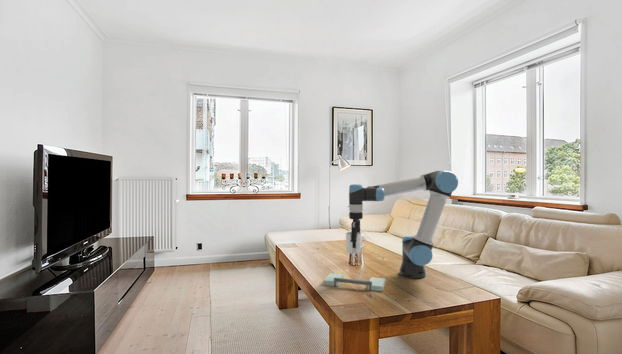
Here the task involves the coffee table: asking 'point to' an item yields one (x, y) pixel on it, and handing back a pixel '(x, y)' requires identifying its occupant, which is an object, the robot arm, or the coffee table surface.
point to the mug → (349, 244)
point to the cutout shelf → (375, 281)
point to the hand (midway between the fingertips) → (356, 251)
